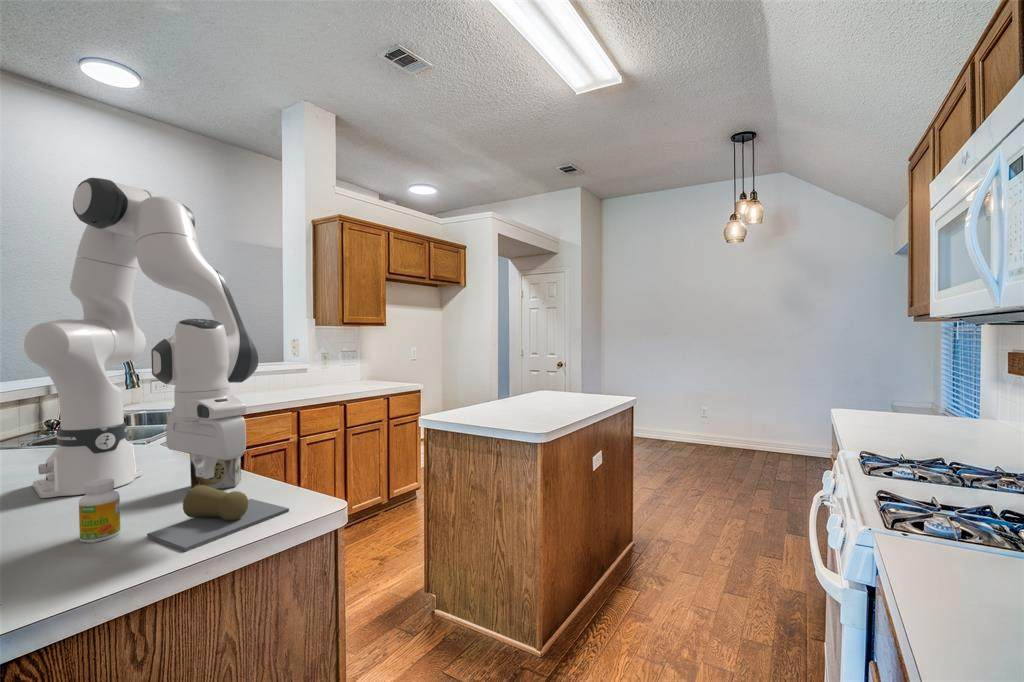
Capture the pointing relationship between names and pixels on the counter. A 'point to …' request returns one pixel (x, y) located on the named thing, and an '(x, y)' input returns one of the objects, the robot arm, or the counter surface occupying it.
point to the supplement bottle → (99, 511)
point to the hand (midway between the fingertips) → (205, 477)
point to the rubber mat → (214, 526)
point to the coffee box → (219, 474)
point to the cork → (215, 503)
